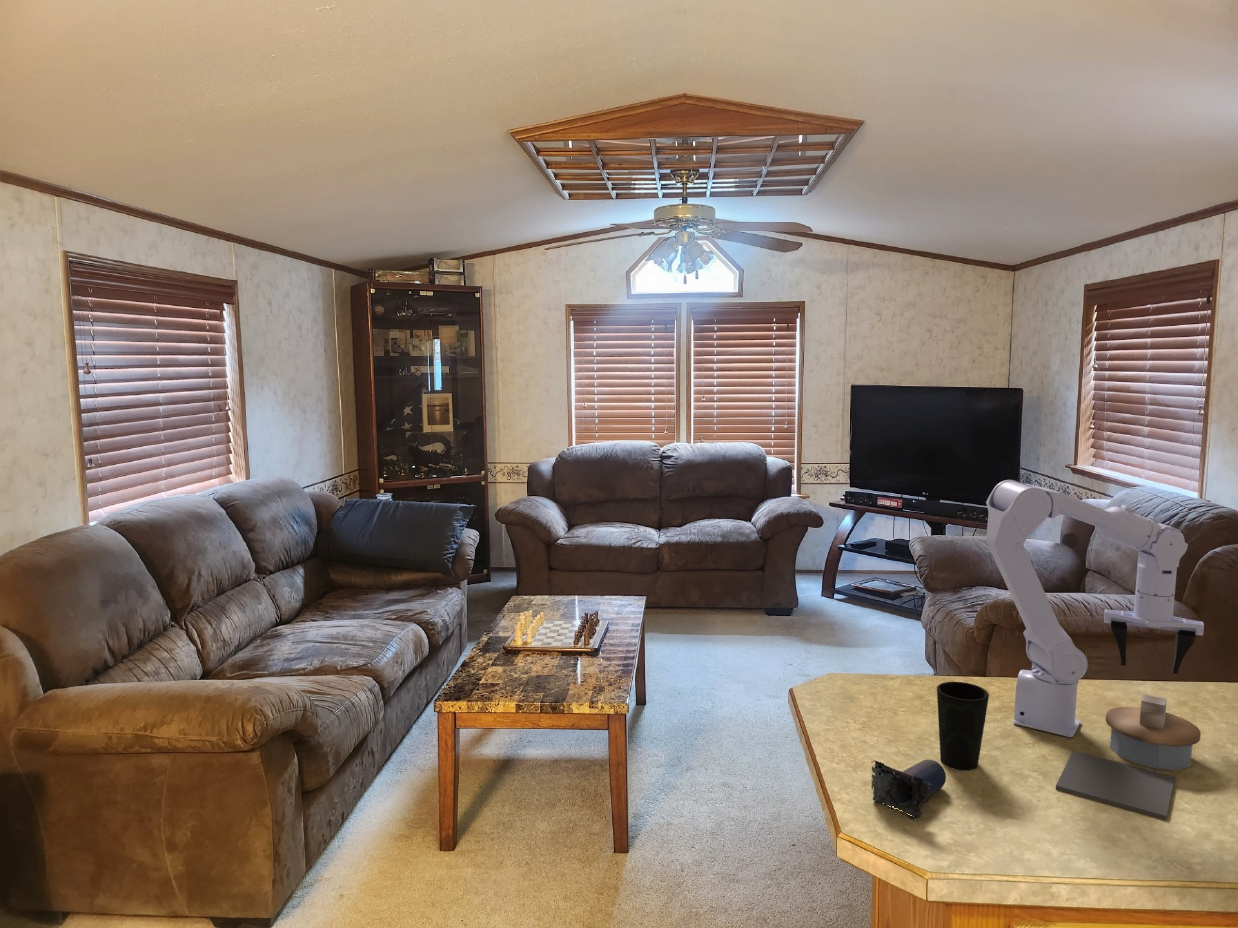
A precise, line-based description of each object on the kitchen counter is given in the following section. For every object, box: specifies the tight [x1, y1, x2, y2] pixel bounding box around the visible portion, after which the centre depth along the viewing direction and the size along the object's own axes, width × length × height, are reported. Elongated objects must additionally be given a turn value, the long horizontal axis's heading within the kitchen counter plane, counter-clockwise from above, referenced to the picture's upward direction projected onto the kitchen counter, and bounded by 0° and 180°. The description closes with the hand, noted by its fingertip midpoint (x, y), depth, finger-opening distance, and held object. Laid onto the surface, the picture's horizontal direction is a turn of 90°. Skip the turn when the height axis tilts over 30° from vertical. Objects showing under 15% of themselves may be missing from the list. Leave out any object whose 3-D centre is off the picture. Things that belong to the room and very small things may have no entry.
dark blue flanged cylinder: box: [870, 759, 947, 821], centre depth 124 cm, size 9×8×12 cm
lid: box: [1105, 694, 1202, 746], centre depth 136 cm, size 13×13×5 cm
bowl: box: [1109, 727, 1193, 771], centre depth 137 cm, size 11×11×4 cm
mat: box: [1055, 750, 1176, 821], centre depth 128 cm, size 14×14×1 cm
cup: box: [936, 681, 990, 772], centre depth 134 cm, size 8×8×12 cm
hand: (1148, 667), depth 147 cm, fingers open, 7 cm apart
